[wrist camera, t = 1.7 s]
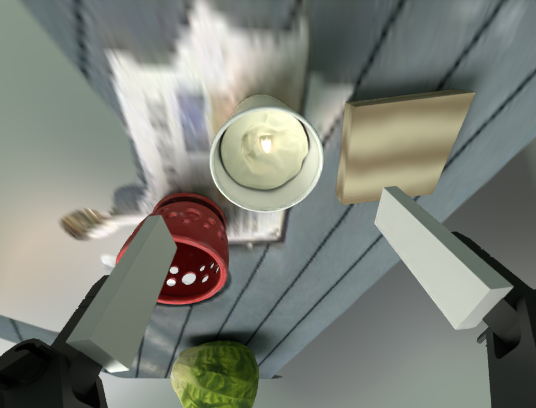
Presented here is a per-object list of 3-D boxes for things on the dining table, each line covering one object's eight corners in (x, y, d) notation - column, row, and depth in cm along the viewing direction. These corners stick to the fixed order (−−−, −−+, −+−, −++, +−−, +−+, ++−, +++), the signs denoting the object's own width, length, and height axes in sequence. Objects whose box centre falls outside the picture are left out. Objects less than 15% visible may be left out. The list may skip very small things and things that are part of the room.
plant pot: (222, 250, 40) (212, 311, 31) (149, 234, 37) (112, 297, 27) (243, 197, 34) (241, 254, 24) (157, 171, 30) (112, 225, 20)
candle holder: (309, 101, 26) (345, 127, 16) (284, 169, 31) (299, 220, 22) (231, 75, 24) (219, 87, 14) (218, 153, 29) (202, 202, 20)
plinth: (345, 102, 27) (355, 106, 24) (454, 89, 27) (475, 92, 24) (335, 194, 35) (342, 204, 32) (419, 184, 35) (432, 193, 32)
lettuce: (191, 319, 55) (151, 415, 42) (273, 343, 58) (260, 441, 45) (185, 335, 68) (153, 414, 54) (253, 355, 70) (238, 434, 57)
